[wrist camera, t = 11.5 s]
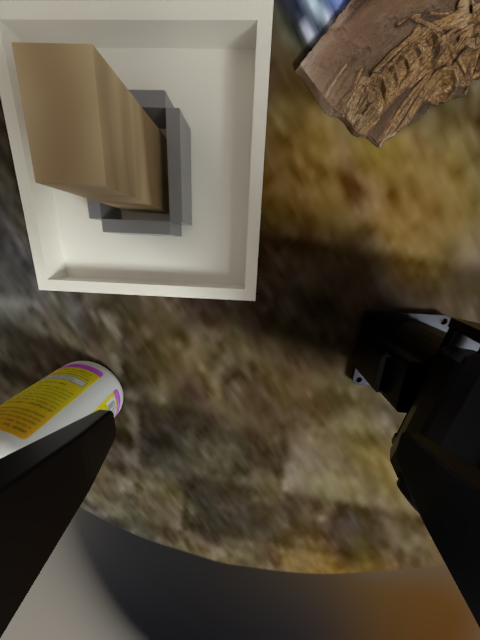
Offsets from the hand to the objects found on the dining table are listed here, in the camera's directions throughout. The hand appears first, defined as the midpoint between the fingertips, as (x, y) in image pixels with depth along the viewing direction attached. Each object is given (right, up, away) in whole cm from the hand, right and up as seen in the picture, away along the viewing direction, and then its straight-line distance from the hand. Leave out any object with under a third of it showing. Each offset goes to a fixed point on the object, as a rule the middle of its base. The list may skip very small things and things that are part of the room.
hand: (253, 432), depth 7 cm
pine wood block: (-7, +14, +9) cm, 18 cm away
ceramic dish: (-7, +14, +10) cm, 18 cm away
